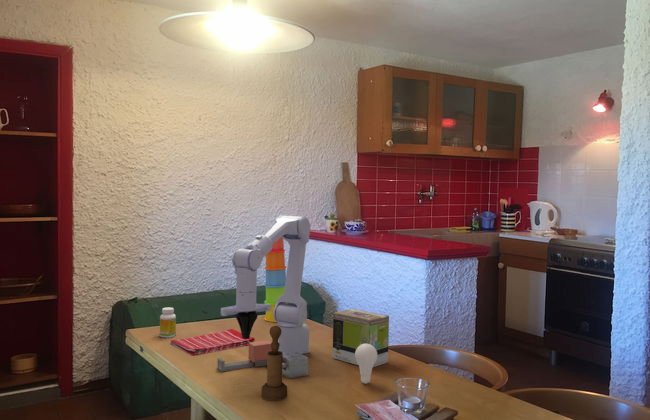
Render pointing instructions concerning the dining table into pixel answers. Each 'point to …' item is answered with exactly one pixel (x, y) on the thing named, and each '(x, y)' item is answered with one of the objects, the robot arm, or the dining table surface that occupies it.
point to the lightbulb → (365, 360)
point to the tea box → (360, 334)
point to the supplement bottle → (167, 323)
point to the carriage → (259, 352)
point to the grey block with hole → (295, 365)
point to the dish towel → (212, 342)
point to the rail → (233, 365)
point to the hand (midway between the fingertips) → (245, 338)
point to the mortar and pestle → (274, 370)
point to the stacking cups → (275, 276)
